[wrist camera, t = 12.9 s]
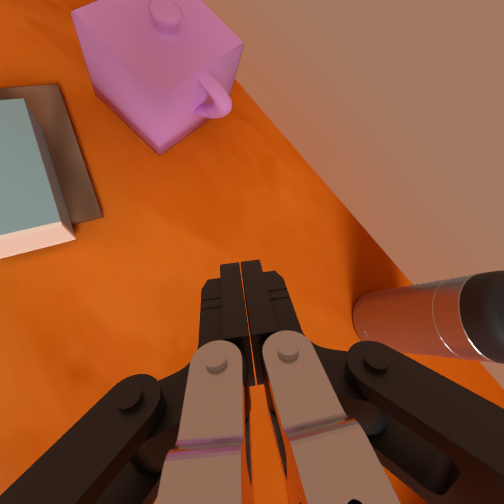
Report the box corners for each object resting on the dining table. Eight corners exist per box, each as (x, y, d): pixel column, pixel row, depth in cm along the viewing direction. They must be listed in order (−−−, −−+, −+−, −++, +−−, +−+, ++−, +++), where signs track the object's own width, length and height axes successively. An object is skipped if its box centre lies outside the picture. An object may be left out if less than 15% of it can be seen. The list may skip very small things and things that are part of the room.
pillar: (76, 239, 34) (41, 127, 36) (62, 225, 29) (23, 98, 31) (-4, 259, 31) (-36, 136, 33) (-33, 247, 26) (-69, 105, 28)
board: (60, 90, 39) (57, 84, 38) (103, 217, 36) (101, 213, 35) (-79, 102, 34) (-87, 94, 32) (-40, 252, 31) (-47, 249, 30)
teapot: (139, 23, 46) (129, -96, 33) (246, 128, 47) (277, 53, 34) (58, 59, 40) (8, -67, 27) (183, 179, 41) (191, 111, 28)
